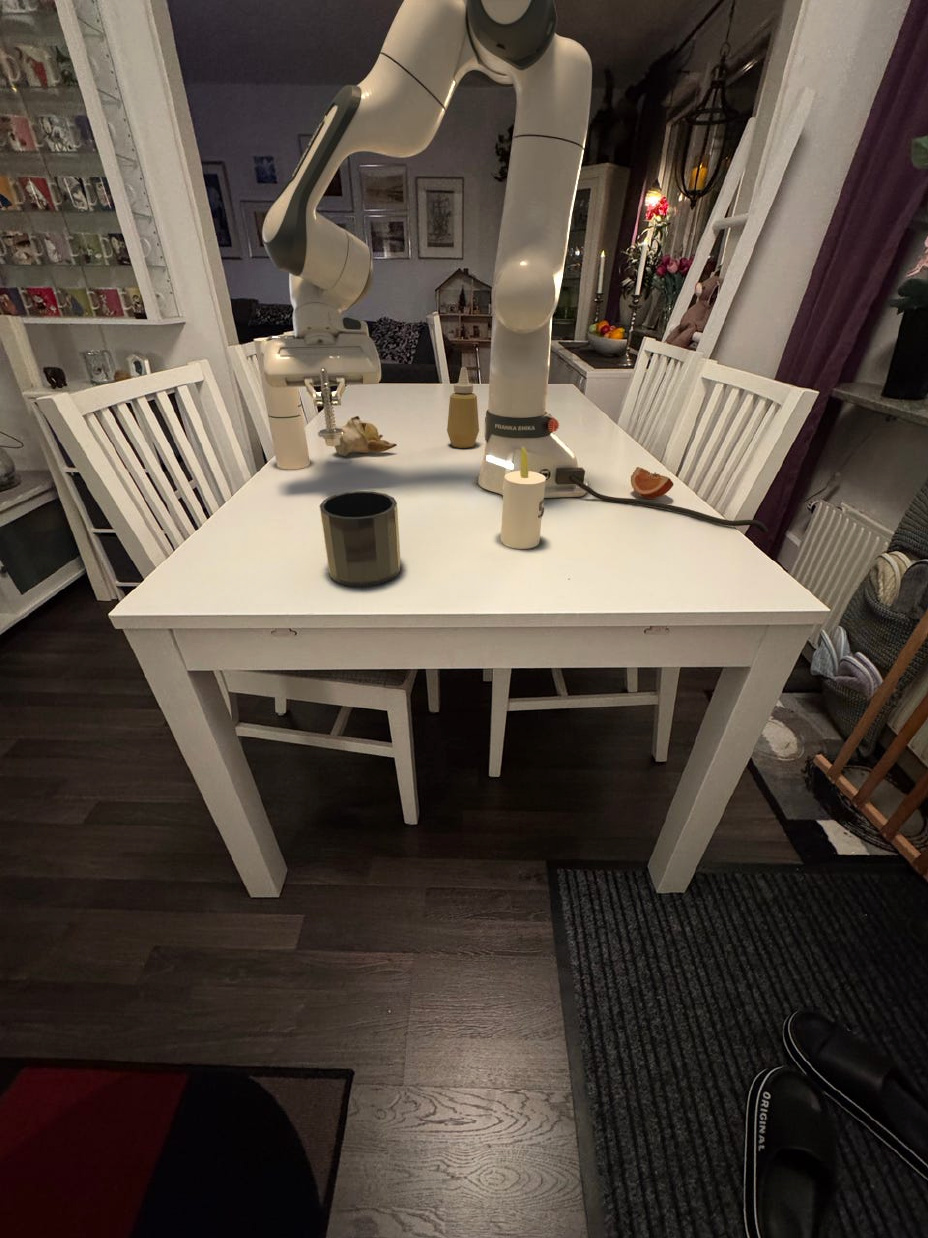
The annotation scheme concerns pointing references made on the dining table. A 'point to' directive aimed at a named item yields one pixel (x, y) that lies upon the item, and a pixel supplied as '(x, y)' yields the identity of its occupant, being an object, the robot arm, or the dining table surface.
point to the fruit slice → (650, 484)
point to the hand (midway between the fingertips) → (327, 403)
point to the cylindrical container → (284, 421)
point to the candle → (522, 506)
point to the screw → (328, 413)
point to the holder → (361, 537)
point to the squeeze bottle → (463, 414)
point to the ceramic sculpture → (361, 438)
